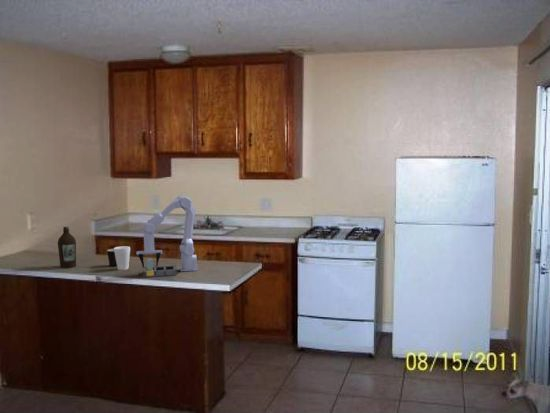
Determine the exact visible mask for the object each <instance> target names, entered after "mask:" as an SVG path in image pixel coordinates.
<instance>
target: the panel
mask: <svg viewBox="0 0 550 413" xmlns="http://www.w3.org/2000/svg"><path fill="white" fill-rule="evenodd" d="M153 259H154V258H147V259H146V267H147V271H151V270H153V267H154V260H153Z"/></svg>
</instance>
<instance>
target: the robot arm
mask: <svg viewBox="0 0 550 413" xmlns="http://www.w3.org/2000/svg"><path fill="white" fill-rule="evenodd" d="M180 208H182V210H184V212H185V217H184V229H183V238H182V239H181V243H180V245H179V248H178V249H179V252H180V253H181V254H180V272H191V271H195V272H196V271H197V270H198V261H197V260H198V259H197V254H194V252H195V248H194V241H193V232H194V223H195V217H196V216H195V214H196V208H195V207H194V204H193V200H192V199H190V198H189V197H188V196H183V195H178V196H177V197H175V198H174V199H172V201H171V202H170V203H169V204H168V205H167V206H165V208H163V210H162V211H161V212H160V213H159V212H157V213H154V214H153V216H152V217H151V218H150V219H148V220H147V222H144V223H143V226H142V227H141V229H142V231H143V249H144V250H138V251H136V256H138V258H139V260H140V262H141V266H142V268H143V267H145V262H144V255H155V257H156V261H155V262H156V263H155V265H156V266H155V267H158V266H159V260H160V258H161V255H162V254H163V249H155V235H154V234H155V233H154V232H155V231H156V228H158V227H159V226H160V225H161V224H162V223H163V222H164V221H165V218H166V217H167V216H168V215H169V214H170V213H171V212H173V211H174V210H175V209H180Z"/></svg>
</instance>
